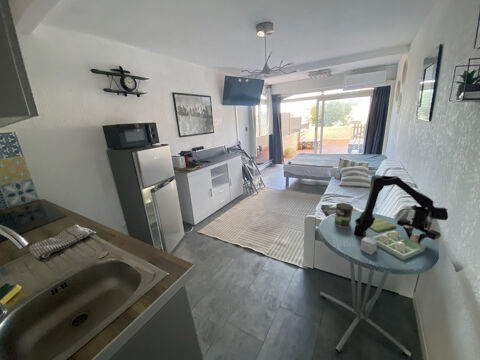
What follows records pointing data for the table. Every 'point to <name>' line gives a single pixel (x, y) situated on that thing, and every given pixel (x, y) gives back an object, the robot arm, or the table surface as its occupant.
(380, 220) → the washcloth
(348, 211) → the coffee can
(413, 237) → the brown egg
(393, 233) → the egg
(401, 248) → the egg
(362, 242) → the skincare box
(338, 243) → the table surface
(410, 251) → the egg tray
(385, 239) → the egg
